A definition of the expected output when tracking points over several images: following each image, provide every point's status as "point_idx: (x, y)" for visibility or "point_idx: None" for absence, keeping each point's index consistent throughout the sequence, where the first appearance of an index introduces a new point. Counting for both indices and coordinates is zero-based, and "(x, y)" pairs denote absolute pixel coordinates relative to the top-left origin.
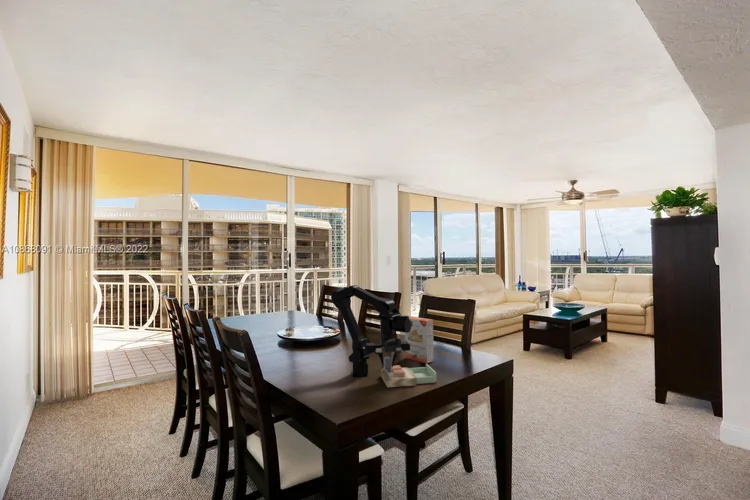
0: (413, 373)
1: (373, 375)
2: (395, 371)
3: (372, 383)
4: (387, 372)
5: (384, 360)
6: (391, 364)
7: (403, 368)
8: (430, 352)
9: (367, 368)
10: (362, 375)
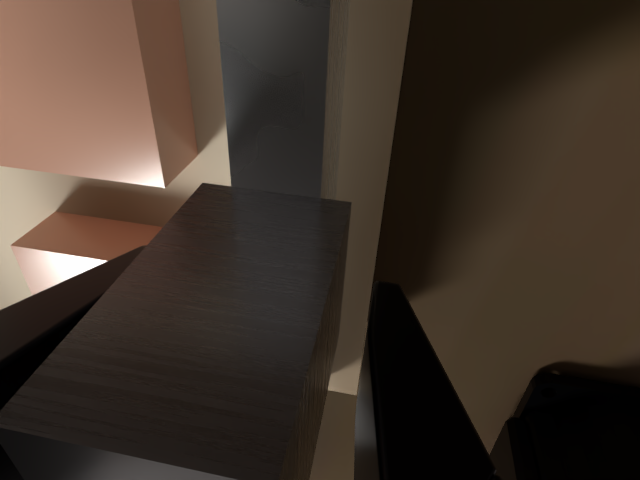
0: None
1: (449, 366)
2: (116, 69)
3: (633, 92)
4: (333, 65)
5: (304, 464)
6: None
7: None
8: None
9: (529, 476)
10: (613, 391)
